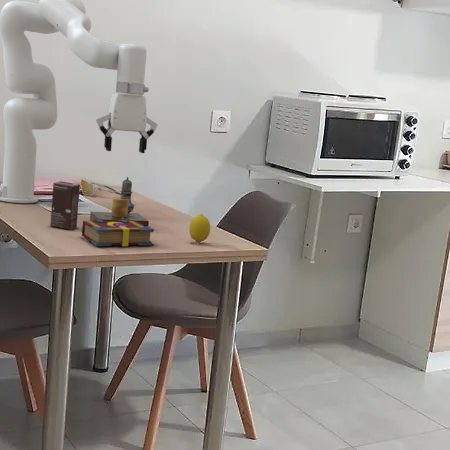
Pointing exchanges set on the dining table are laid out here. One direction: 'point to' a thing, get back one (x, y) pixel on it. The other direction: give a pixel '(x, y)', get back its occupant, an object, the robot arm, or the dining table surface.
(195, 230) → the lemon
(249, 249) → the dining table surface
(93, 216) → the lock plate
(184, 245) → the dining table surface
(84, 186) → the sunglasses
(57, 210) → the box
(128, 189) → the grey textured elongated piece
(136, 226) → the decorative book
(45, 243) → the dining table surface
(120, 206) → the lock knob
